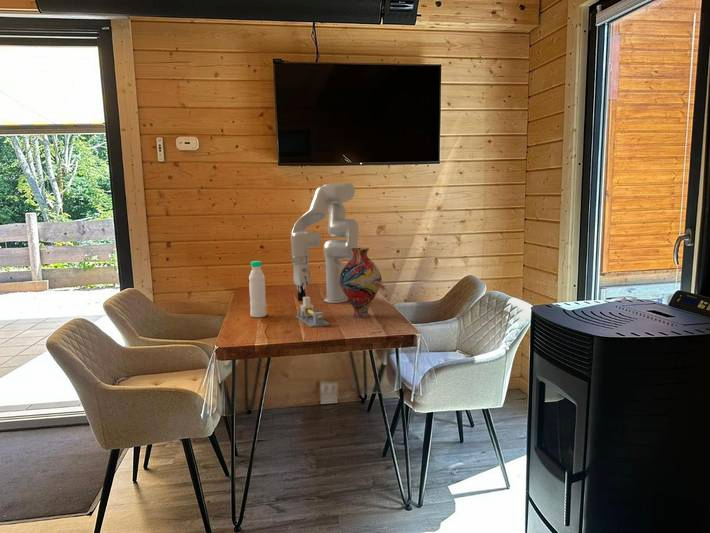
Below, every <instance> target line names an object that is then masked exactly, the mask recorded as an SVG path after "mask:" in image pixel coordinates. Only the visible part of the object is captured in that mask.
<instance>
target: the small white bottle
mask: <svg viewBox="0 0 710 533" xmlns="http://www.w3.org/2000/svg"><path fill="white" fill-rule="evenodd" d="M313 307H314V305H313V304H311V297H310V296H306V297H303V301H302V304H300V315H302V311H304V317H306V314H308V316H312V315H310V314H309V313H307V312H306V310H305V308H308V309H310V310H312V311H314V312H315V308H314V309H313Z"/></svg>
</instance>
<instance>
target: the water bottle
mask: <svg viewBox="0 0 710 533" xmlns="http://www.w3.org/2000/svg"><path fill="white" fill-rule="evenodd" d="M262 264H263V263H262V261H261V260H253V261H251V262H250V267H251V271H250V273H249V276H248V280H249V282H248V283H249V286H248V289H249V292H248V293H249V307H250V312H249V313H250V317H252V318H264V317H266V316H267V301H266V282H265V279H266V276H265V274H264V273H263V270H262V266H263V265H262Z"/></svg>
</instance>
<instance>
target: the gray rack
mask: <svg viewBox="0 0 710 533" xmlns="http://www.w3.org/2000/svg"><path fill="white" fill-rule="evenodd" d="M313 309H314V311H312V310H310V309H309V308H305V310H306V312H307V313H309V314H310V315H312V316H308V314H306V317H304V311H302V315H301V308H300V309H299V308H298V309H297V311H298V313H297V314H298V315H295V318H296V319H298V320H299V321H301V322H302V323H303V324H305V325H307V326H308V327H310V328H316V327H317V328H318V327H325V326H326V327H327V326H330V322H328V321H326V320H324V313H323V312H322V311H319V309H315V307H314V306H313ZM315 310H316V312H315Z"/></svg>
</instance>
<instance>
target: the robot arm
mask: <svg viewBox="0 0 710 533" xmlns="http://www.w3.org/2000/svg"><path fill="white" fill-rule="evenodd" d="M355 192H356V189H355V186H354V185H353V184H352V183H350V182H335V183H334V182H331V183H325V184H323V186H319V187H318V188H316V189H315V191H314V195H313V198H312V201H311V203H310V205H309V209H308V210H307V211H306V212H305V213H303V215H302V216H300V217H299V218H298V220H296V221H295V223H294V224H293V227H292V230H291V232H290V244H291V264H292V265H293V268H292V269H293V272H292V273H293V283H294V285H296V290H297V301H298V302H303V297H307V296H306V291H307V286H310V285H311V278H310V277H311V276H310V275H311V274H310V266H309V264H310V259H309V258H310V257H309V256H310V252H309V248H311V249H312V248H317V247H319V246H320V245H321V243H322V236H321V234H320V233H319V232H318V231H313V230H310V231H309V230H306V229H307V228H309V227H311V226H313V225H315V224H317V223H319V222H322V221H323V220H324V219H326V217H327V213H328V221H327V222H328V224H327V233H328V235H329V236H330V237H331V238H346V239H329V240H326V241H325V242H324V244H323V249H322V250H323V256H324V260H325V280H326V281H325V283H326V284H325V286H326V297H325V298H323V302H325V303H327V304H340V303H346V302H348V301H349V300H348V298H347V296H346V295H345V293H344V292H343V290H342V289H341V287H340V284H339V279H340V275H341V272H342V270H343V268H344V267H345V265H344V263H343V261H342V259H343V260H351V259H352V258H353V252H352V250H351V249H352V248H359V247H358V246H359V233H360V232H359V223H358V222H357V220H356V219H353V218H346V212H347V210H346V207H345V204H344V203H346V202H349V201H351V200H352V199H353V198H354V196H355Z"/></svg>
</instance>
